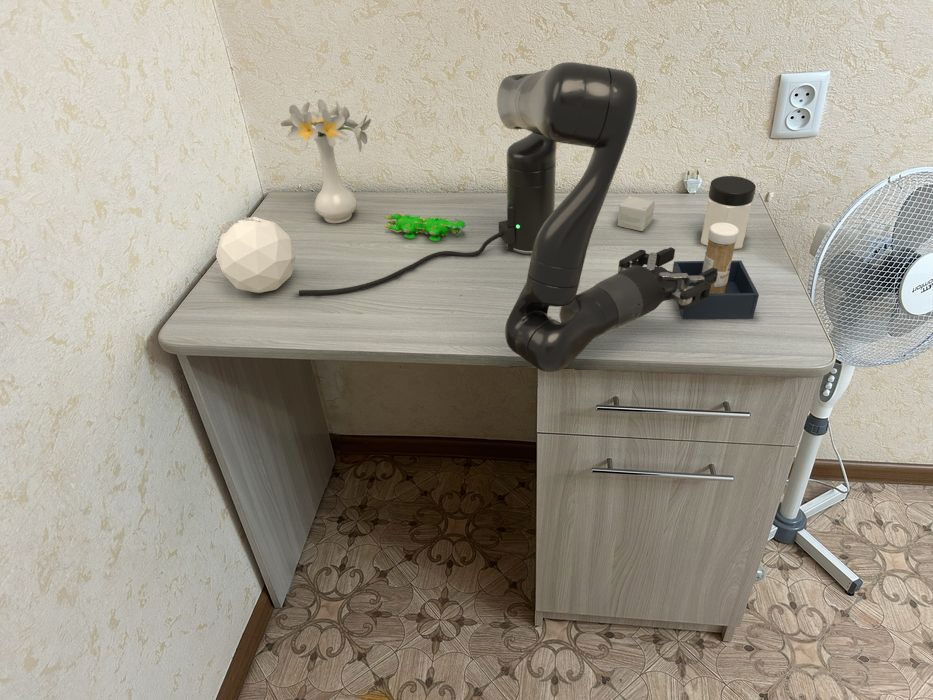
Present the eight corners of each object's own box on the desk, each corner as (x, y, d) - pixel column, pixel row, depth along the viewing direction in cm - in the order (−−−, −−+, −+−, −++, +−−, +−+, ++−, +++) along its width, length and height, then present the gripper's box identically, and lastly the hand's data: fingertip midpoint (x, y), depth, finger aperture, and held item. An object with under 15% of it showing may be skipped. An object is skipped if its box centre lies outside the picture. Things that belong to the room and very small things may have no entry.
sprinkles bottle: (723, 306, 117) (739, 235, 109) (696, 302, 118) (709, 232, 110) (724, 292, 121) (739, 222, 112) (697, 288, 122) (710, 220, 114)
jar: (753, 241, 136) (767, 184, 128) (729, 256, 132) (741, 198, 124) (714, 226, 141) (725, 171, 134) (690, 239, 137) (700, 183, 130)
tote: (682, 319, 116) (686, 295, 113) (670, 284, 125) (673, 261, 122) (753, 318, 115) (759, 294, 112) (736, 283, 124) (741, 260, 121)
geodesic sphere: (195, 289, 120) (229, 222, 115) (198, 251, 131) (229, 188, 126) (275, 318, 128) (311, 257, 123) (272, 280, 139) (304, 222, 134)
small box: (652, 221, 145) (655, 199, 142) (642, 232, 141) (645, 210, 138) (627, 215, 147) (629, 194, 144) (616, 226, 143) (618, 205, 140)
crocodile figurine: (462, 245, 140) (460, 226, 138) (380, 237, 145) (377, 219, 142) (470, 230, 145) (469, 212, 143) (391, 223, 150) (389, 205, 147)
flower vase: (379, 228, 148) (363, 112, 133) (295, 232, 149) (269, 116, 134) (384, 202, 159) (370, 91, 143) (305, 205, 159) (283, 96, 144)
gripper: (662, 297, 97) (735, 259, 104) (590, 258, 106) (662, 226, 113) (655, 339, 101) (726, 300, 108) (588, 299, 111) (656, 265, 118)
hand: (693, 262), depth 111 cm, fingers open, 8 cm apart
